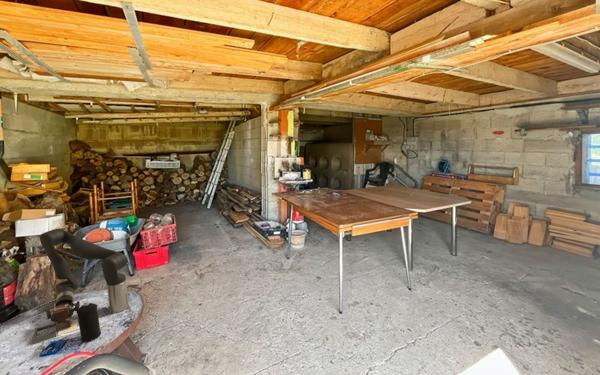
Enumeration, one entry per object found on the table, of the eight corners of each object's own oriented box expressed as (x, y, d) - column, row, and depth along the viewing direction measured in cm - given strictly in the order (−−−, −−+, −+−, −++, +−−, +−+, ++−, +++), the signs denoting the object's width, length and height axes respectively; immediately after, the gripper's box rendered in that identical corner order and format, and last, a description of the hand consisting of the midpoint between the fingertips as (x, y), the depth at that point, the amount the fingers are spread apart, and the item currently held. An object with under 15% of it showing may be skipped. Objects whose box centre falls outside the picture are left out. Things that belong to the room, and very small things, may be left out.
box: (56, 332, 137) (52, 311, 134) (57, 326, 141) (53, 306, 138) (71, 327, 140) (67, 307, 138) (72, 322, 144) (69, 302, 141)
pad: (78, 318, 148) (78, 318, 148) (76, 329, 140) (76, 329, 140) (59, 324, 143) (59, 324, 143) (57, 335, 135) (57, 335, 135)
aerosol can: (105, 332, 138) (100, 298, 134) (88, 344, 131) (82, 308, 127) (93, 328, 141) (89, 294, 137) (76, 339, 133) (70, 304, 129)
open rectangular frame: (58, 324, 143) (57, 319, 143) (56, 336, 135) (55, 331, 134) (35, 331, 138) (34, 325, 137) (31, 344, 129) (30, 339, 129)
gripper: (46, 299, 145) (41, 317, 132) (80, 290, 154) (78, 306, 140) (48, 311, 147) (43, 330, 134) (82, 302, 155) (80, 319, 142)
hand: (61, 318), depth 137 cm, fingers closed on box, 6 cm apart
